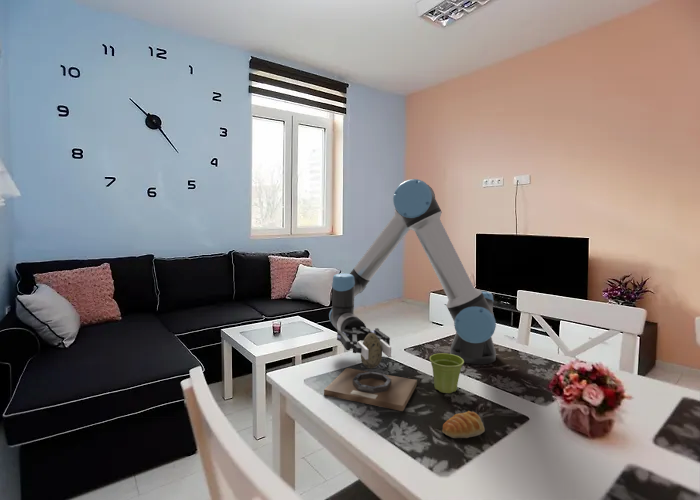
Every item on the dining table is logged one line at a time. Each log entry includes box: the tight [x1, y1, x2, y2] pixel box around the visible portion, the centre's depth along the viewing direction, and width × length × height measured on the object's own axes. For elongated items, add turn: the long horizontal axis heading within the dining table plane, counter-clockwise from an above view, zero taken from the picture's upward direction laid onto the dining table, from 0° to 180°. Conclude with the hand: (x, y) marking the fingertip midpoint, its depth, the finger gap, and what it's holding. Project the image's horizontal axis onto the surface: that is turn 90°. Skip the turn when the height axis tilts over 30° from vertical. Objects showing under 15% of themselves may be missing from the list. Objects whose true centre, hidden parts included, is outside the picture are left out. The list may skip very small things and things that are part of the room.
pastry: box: [441, 410, 485, 439], centre depth 89 cm, size 9×7×4 cm
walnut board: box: [323, 367, 418, 412], centre depth 108 cm, size 22×16×2 cm
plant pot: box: [429, 352, 465, 394], centre depth 109 cm, size 9×9×9 cm
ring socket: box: [353, 371, 391, 394], centre depth 108 cm, size 10×10×2 cm
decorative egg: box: [360, 333, 383, 369], centre depth 108 cm, size 6×6×10 cm
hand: (378, 353), depth 103 cm, fingers closed on decorative egg, 6 cm apart
